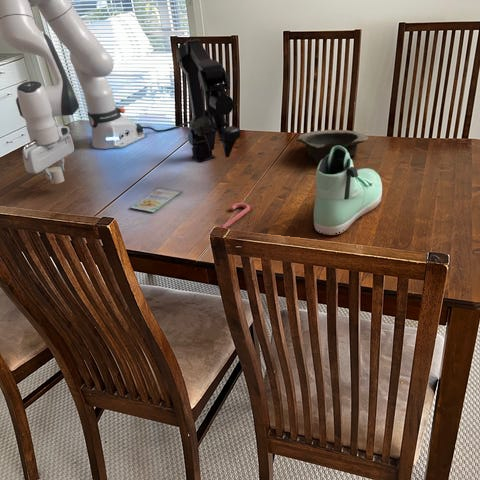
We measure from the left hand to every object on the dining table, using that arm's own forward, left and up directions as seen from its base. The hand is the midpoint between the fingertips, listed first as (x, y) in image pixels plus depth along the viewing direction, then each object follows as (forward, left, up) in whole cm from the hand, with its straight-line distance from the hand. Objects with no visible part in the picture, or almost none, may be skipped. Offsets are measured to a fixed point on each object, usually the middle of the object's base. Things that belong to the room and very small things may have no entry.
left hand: (56, 175), depth 160 cm
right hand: (-40, +38, +3) cm, 55 cm away
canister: (0, 0, -2) cm, 2 cm away
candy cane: (-23, +61, -6) cm, 65 cm away
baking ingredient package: (-16, +33, -6) cm, 37 cm away
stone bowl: (-78, +56, -6) cm, 96 cm away
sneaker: (-48, +83, -6) cm, 96 cm away
